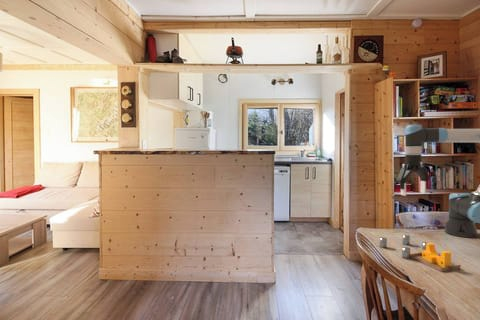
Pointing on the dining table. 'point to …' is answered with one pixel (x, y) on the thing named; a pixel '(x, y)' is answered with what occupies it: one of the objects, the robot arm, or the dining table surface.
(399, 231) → the dining table surface
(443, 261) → the pipe clamp
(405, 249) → the spacers
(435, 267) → the board
